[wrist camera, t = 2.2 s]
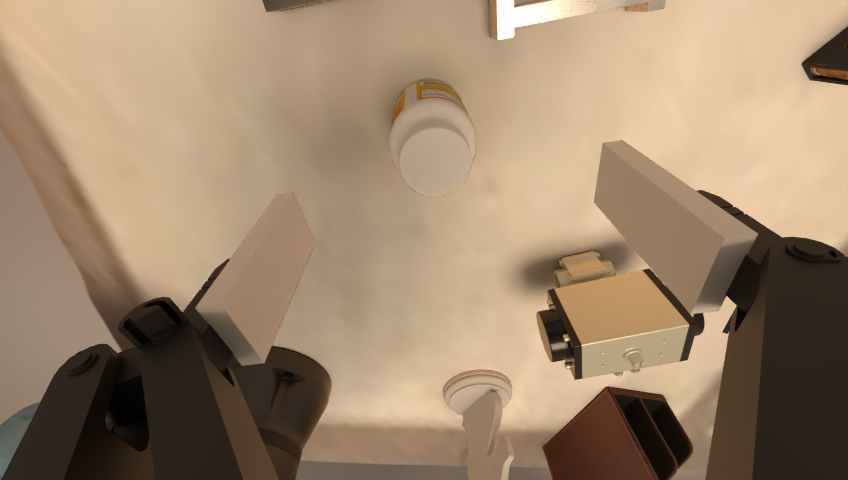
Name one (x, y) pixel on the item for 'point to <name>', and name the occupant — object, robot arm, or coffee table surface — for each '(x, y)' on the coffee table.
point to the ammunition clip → (830, 61)
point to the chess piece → (482, 420)
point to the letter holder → (620, 440)
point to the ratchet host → (518, 11)
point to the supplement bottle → (432, 138)
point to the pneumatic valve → (613, 319)
